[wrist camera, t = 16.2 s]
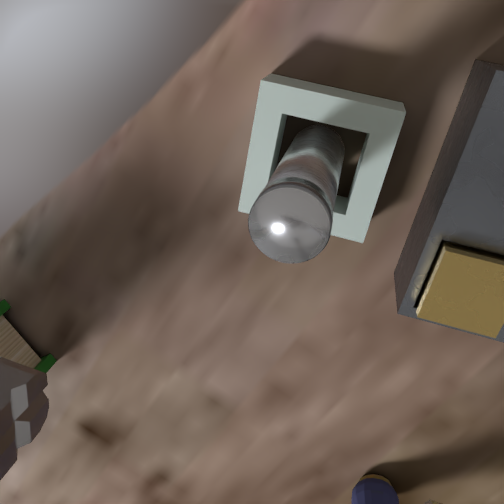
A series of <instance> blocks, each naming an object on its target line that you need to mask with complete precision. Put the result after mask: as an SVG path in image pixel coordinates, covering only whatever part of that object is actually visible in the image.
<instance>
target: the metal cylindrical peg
mask: <svg viewBox="0 0 504 504" xmlns="http://www.w3.org/2000/svg"><path fill="white" fill-rule="evenodd" d="M344 152H345V150H344V144H343V141H342V139H341V137H340V136H339V134H338V133H337V132H336V131H334V130H333V129H332V128H330V127H327V126H324V125H312V126H308V127H306V128H304V129H302V130H301V131H300V132H299V133H298V134H297V135H296V136H295V138H294V140H293V141H292V143H291V145H290V146H289V148H288V150H287V151H286V153H285V155H284V156H283V158H282V160H281V161H280V163H279V165H278V166H277V168H276V170H275V171H274V173H273V175H272V176H271V178H270V180H269V181H268V183H267V185H266V186H265V188H264V189H263V190H262V191H261V192H260V194H259V196H258V197H257V199H256V201H255V202H254V204H253V206H252V208H251V210H250V213H249V218H248V227H249V232H250V235H251V238H252V240H253V242H254V243H255V245H256V246H257V247H258V248H259V250H260V251H262V252H263V253H264V254H265V255H266V256H268V257H270V258H272V259H274V260H276V261H279V262H283V263H301V262H305V261H308V260H310V259H312V258H314V257H315V256H317V255H318V254H319V253H320V252H321V251H322V250H323V249H324V248H325V246H326V245H327V243H328V241H329V238H330V234H331V229H332V223H333V212H334V207H335V201H336V196H337V191H338V185H339V180H340V175H341V170H342V164H343V159H344Z"/></svg>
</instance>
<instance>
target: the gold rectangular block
mask: <svg viewBox="0 0 504 504" xmlns="http://www.w3.org/2000/svg"><path fill="white" fill-rule="evenodd" d="M418 296H419V302H420V303H419V306H418V308H417V310H416V314H417V317H419V318H422V319H426V320H430V321H433V322H437V323H441V324H444V325H448V326H452V327H455V328H459V329H463V330H467V331H470V332H474V333H478V334H481V335H485V336H489V337H492V338H496V337H497V335H498V333H499V331H500V329H501V328H502V326H503V324H504V255H501V254H497V253H493V252H489V251H485V250H481V249H477V248H473V247H469V246H465V245H461V244H457V243H453V242H449V241H445V240H441V243H440V245H439V247H438V250H437V252H436V254H435V257H434V259H433V261H432V264H431V266H430V269H429V271H428V273H427V276H426V278H425V280H424V283H423V285H422V288H421V290H420V292H419V295H418Z"/></svg>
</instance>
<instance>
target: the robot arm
mask: <svg viewBox="0 0 504 504" xmlns="http://www.w3.org/2000/svg"><path fill="white" fill-rule="evenodd" d="M47 385H48V383H47V374H46V373H44V372H41V371H38V370H36V369H33V368H30V367H27V366H25V365H22V364H19V363H17V362H14V361H11V360H8V359H6V358H3V357H0V480H1V479H2V478H3V477H4V475H5V474H6V473H7V472H8V470H9V469H10V468H11V467H12V465H13V464H14V463H15V462H16V461H17V449H18V448H20V447H22V446H24V445H26V444H29V443H31V442H32V441H33V439H34V438H35V437H36V435H37V434H38V433H39V432H40V430H41V428H42V426H43V424H44V422H45V420H46V418H47V414H48V409H49V399H48V398H47V397H46V395H45V394H44V392H43V389H44V388H45V387H46V386H47ZM425 504H442V503H438V502H435V501H432V500H429V501H427V502H425Z"/></svg>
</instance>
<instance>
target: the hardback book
mask: <svg viewBox="0 0 504 504" xmlns="http://www.w3.org/2000/svg"><path fill="white" fill-rule="evenodd" d="M10 308H11V306H10V305H9V304H8V303H7V302H6V301H5V299H4V300H2V301H0V357H3V358H6V359H8V360H11V361H14V362H17V363H19V364H22V365H25V366H27V367H30V368H33V369H36V370H38V371H41V372H44V373H47V371H48V370H49V369H50V368H51V367H52V366H53V365H54V364H55V362H56V359H55V358H54V357H53V356H52V355H51V354H48V355H46V356H44V357H42V358H39V357H38V355H37V354H36V353H35V352H34V351H33V350H32V349H31V347H30V346H29V345H28V344H27V343H26V342H25V340H24V339H23V338H22V337H21V336H20V335H19V333H18V332H17V331H16V330H15V329H14V328H13V327H12V325H11V324H10V323H9V322H8V321H7V320H6V318H5V317H4V316H3V314H4V313H5V312H6V311H7V310H9V309H10Z"/></svg>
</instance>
